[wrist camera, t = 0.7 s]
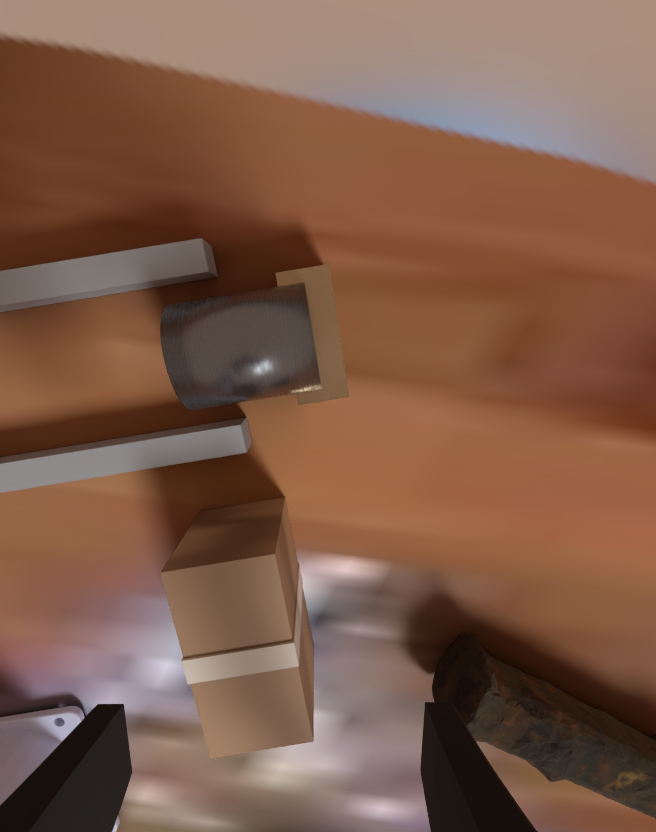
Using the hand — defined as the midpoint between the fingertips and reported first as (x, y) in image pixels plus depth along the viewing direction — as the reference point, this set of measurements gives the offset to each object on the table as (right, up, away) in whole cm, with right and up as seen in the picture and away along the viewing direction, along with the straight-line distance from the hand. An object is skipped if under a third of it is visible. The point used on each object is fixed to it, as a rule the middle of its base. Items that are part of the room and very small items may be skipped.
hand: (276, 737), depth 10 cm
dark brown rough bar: (+15, -8, +13) cm, 22 cm away
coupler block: (-2, 0, +10) cm, 10 cm away
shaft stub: (-2, +11, +8) cm, 13 cm away
